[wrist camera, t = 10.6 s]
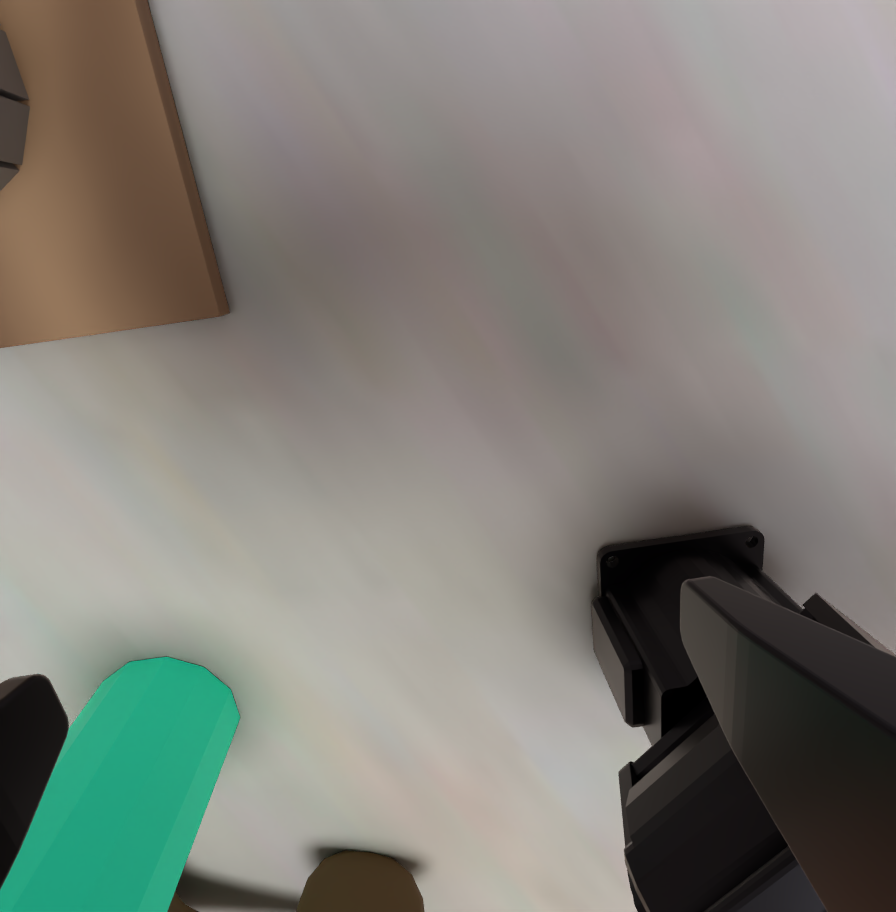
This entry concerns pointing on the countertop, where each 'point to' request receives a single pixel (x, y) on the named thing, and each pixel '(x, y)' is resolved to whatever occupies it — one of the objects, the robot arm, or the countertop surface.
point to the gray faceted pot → (11, 113)
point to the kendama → (352, 886)
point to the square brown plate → (99, 181)
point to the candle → (126, 793)
